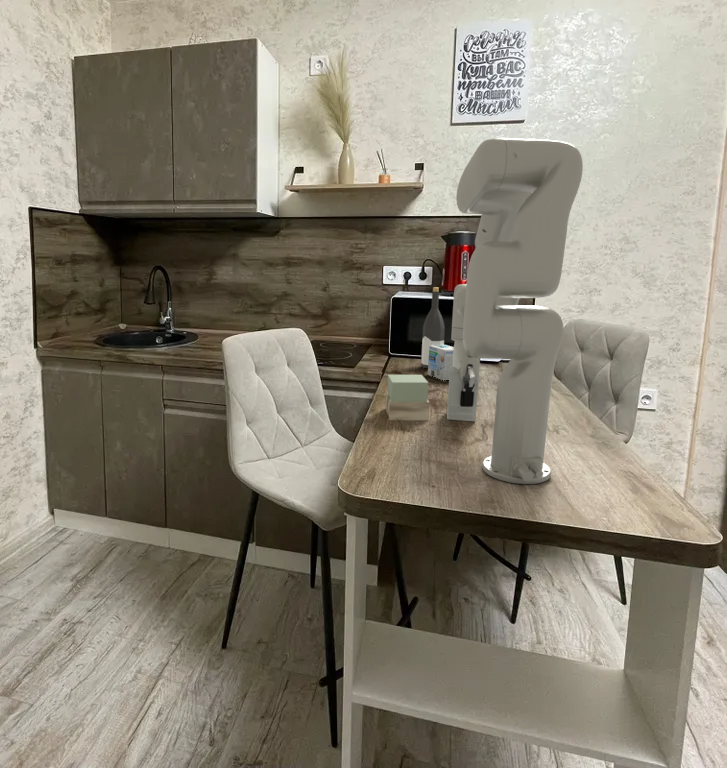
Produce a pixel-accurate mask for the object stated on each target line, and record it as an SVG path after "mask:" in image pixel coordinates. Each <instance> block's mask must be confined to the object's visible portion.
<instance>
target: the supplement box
mask: <svg viewBox="0 0 727 768" xmlns="http://www.w3.org/2000/svg"><path fill="white" fill-rule="evenodd" d="M466 371H467V370H466ZM464 379H468V374H467V372H466V374H465V376H464ZM479 380H480V379H479ZM479 380H478V381H476V380H475V382H474V384H475V386H474V400H473V406H472V407H461V406H460V396H461V391H462V381H460V380H459V372H458V371H457V370H456V369H455V368H453V367H450V376H449V381H448V391H447V393H448V394H447V406H446V420H452V421H461V422H462V421H464V422H476V419H477V406H478V404H477V403H478V394H479V393H478V391H479V382H480V381H479ZM466 383H467V382H465V385H466Z"/></svg>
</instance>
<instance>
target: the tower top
mask: <svg viewBox="0 0 727 768" xmlns="http://www.w3.org/2000/svg"><path fill="white" fill-rule="evenodd" d="M387 392H388V395H389V397H390V399H391V401H392V402H427V399H428V395H429V381H428V380H427V379H426V378H425V377H424V376H423V375H422V374H388V375H387Z"/></svg>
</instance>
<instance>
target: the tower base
mask: <svg viewBox="0 0 727 768" xmlns="http://www.w3.org/2000/svg"><path fill="white" fill-rule="evenodd" d="M385 411H386V415H387V418H388V417H389V418H388V421H394V420H393V419H399V420H398V421H429V419H430V400H429V399H428V398H427V402H392V401H391V399H390V397H389V395H388V391H386V392H385ZM400 419H402V420H400Z"/></svg>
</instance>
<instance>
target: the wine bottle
mask: <svg viewBox="0 0 727 768" xmlns="http://www.w3.org/2000/svg"><path fill="white" fill-rule="evenodd" d="M439 288H440V287H436V286H435V287H432V291H431V294H432V295H431V308H430V310H429V312H428V313H427V315H426V317H425V320H424V323H423V326H422V340H421V342H422V344H421V365H420V367H421V366H422V367H423V368H422V367H421V368H422V369H424V368H428V362H429V346H430V345H445V329H446V328H445V327H446V326H445V322H444V319H443V316H442V314H441V311H440V310H439V299H440V291H439Z"/></svg>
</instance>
